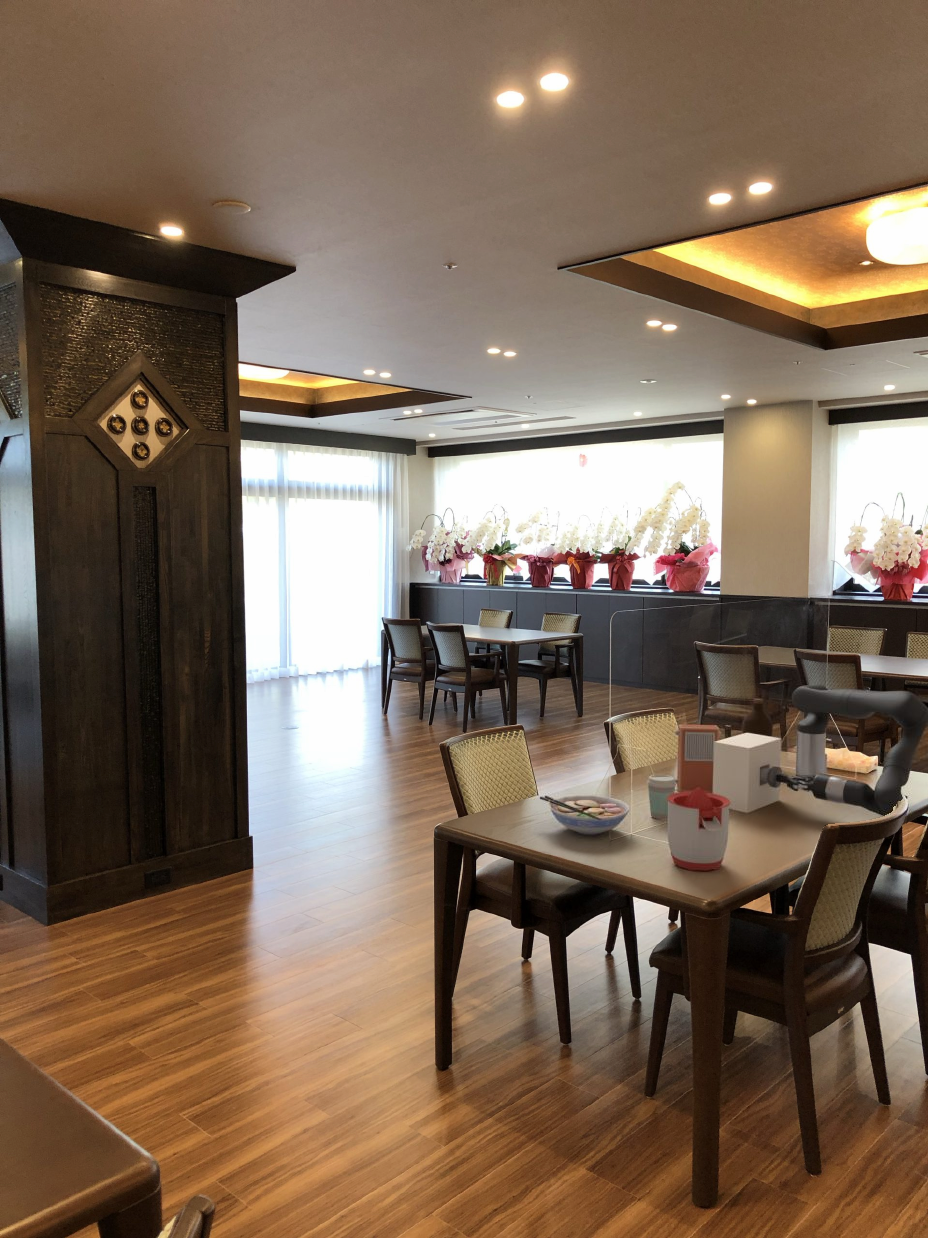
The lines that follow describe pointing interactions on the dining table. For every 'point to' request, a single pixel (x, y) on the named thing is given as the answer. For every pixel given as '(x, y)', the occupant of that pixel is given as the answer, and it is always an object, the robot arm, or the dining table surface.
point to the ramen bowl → (588, 812)
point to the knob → (770, 776)
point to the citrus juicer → (697, 829)
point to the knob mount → (745, 770)
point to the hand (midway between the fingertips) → (777, 777)
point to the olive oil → (757, 721)
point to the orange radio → (696, 756)
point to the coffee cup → (660, 794)
